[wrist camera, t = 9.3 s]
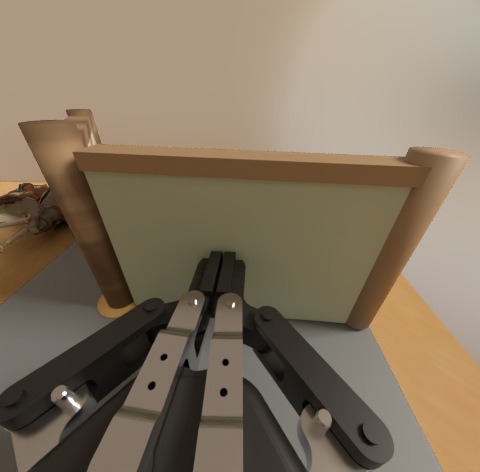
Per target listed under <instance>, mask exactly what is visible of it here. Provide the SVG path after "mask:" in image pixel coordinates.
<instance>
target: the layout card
mask: <svg viewBox="0 0 480 472" xmlns="http://www.w3.org/2000/svg"><path fill="white" fill-rule="evenodd" d="M136 306H138V305H135V302H133V303H132V304H130V305H129V306H127V307H124V308H121V309H113V308H111V307H109V305H108V304H107V302H106V300H105V298H104V296H103V294H102V292H101V290H100V288H99V286H98V284H97V282H96V280H95V278H94V276H93V274H92V272H91V270H90V267H89V265H88V263H87V261H86V259H85V257H84V255H83V253H82V251H81V249H80V247H79V245H78V243H77V241H75V242H74V243H73V244H71V245H70V246H69V247H68V248H67V249H66V250H64V251H63V252H62V253H61V254H60V255H59V256H57V257H56V258H55V259H54V260H53V261H52V262H50V263H49V264H48V265H47V266H46V267H45V268H43V269H42V270H41V271H40V272H39V273H37V274H36V275H35V276H34V277H33V278H32V279H30V280H29V281H28V282H27V283H26V284H25V285H23V286H22V287H21V288H20V289H19V290H18V291H16V292H15V293H14V294H13V295H12V296H11V297H9V298H8V299H7V300H6V301H5V302H4V303H2V304H1V305H0V394H1V393H2V392H3V391H4V390H6V389H7V388H8V387H10V386H11V385H13V384H14V383H16V382H17V381H19V380H20V379H22V378H24V377H25V376H27V375H28V374H30V373H32V372H33V371H35V370H36V369H38V368H39V367H41V366H43V365H44V364H46V363H47V362H49V361H51V360H52V359H54V358H55V357H57V356H58V355H60V354H62V353H63V352H65V351H66V350H68V349H70V348H71V347H73V346H74V345H76V344H77V343H79V342H81V341H82V340H84V339H85V338H87V337H89V336H90V335H92V334H93V333H95V332H96V331H98V330H100V329H101V328H103V327H104V326H106V325H108V324H109V323H111V322H112V321H114V320H115V319H117V318H119V317H120V316H122V315H123V314H125V313H127V312H128V311H130V310H131V309H133V308H134V307H136ZM215 318H216V313H215ZM215 318H210V320H209V324H208V332H207V335H206V339H205V342H204V346H203V349H202V353H201V356H200V360H199V367H198V371H200V370H205V369H208V361H209V353H210V346H211V338H212V334H213V333H214V326H215ZM285 319H286V320H287V321H288V322H289V323H290V324H291V325H292V326H293V327H294V328H295V329H296V330H297V331H298V332H299V334H300V335H301V336H302V337H303V338H304V339H305V340H306V341H307V342H308V343H309V344H310V345H311V346H312V347H313V348H314V349H315V350H316V351H317V353H318V354H319V355H320V356H321V357H322V358H323V359H324V360H325V361H326V362H327V363H328V364H329V365H330V366H331V367H332V368H333V369H334V371H335V372H336V373H337V374H338V375H339V376H340V377H341V378H342V379H343V380H344V381H345V382H346V383H347V384H348V385H349V386H350V387H351V388H352V390H353V391H354V392H355V393H356V394H357V395H358V396H359V397H360V398H361V399H362V400H363V401H364V402H365V403H366V404H367V405H368V406H369V408H370V409H371V410H372V411H373V412H374V413H375V414H376V415H377V416H378V417H379V418H380V419H381V420H382V421H383V423H384V424H385V425H386V427H387V428H388V430H389V432H390V434H391V436H392V439H393V443H394V454H393V457H392V458H391V460H389V461H388V462H387V463H385V464H384V465H382V466H381V467H379V468H377V469H376V470H374V471H373V472H444V471H443V469H442V467H441V466H440V464H439V462H438V460H437V458H436V456H435V454H434V452H433V450H432V448H431V446H430V444H429V442H428V440H427V438H426V436H425V434H424V433H423V431H422V429H421V427H420V425H419V423H418V421H417V419H416V417H415V415H414V413H413V411H412V409H411V407H410V405H409V403H408V401H407V399H406V398H405V396H404V394H403V392H402V390H401V388H400V386H399V384H398V382H397V380H396V378H395V376H394V374H393V372H392V370H391V368H390V366H389V365H388V363H387V361H386V359H385V357H384V355H383V353H382V351H381V349H380V347H379V345H378V343H377V341H376V339H375V337H374V335H373V333H372V332H371V330H370V328H369V327H368V328H366V329H362V330H359V329H354V328H352V327H350V326H348V325H347V324H345V323H336V322H325V321H314V320H302V319H291V318H285ZM141 368H142V367H140V368H139V369H138V370H137V371H136V372H134V373H133V374H132V375H131V376H130V377H128V378H127V379H126V380H125V381H124V382H122V383H121V384H120V385H119V386H118V387H116V388H115V389H114V390H113V391H111V392H110V393H109V394H108V395H107V396H105V397H104V398H103V399H102V400H101V401H99V402H98V403H97V405H96V408H95V411H96V410H97V409H99V408H100V407H101V406H102V405H103V404H104V403H105V402H107V401H108V400H109V399H110V398H111V397H112V396H113V395H115V394H116V393H117V392H118V391H119V390H120V389H121V388H123V387H124V386H125V385H126V384H127V383H128V382H130V381H131V380H132V379H133V378H135V377H136V376H138V374H139V372H140V370H141ZM243 377H244V378H246V379H247V380H249V381H250V382H251V383H252V384H253V385H254V386H255V387H256V388H257V389H258V390H259V392H260V393H261V395H262V396H263V398H264V400H265V401H266V403H267V405H268V406H269V408H270V410H271V411H272V413H273V415H274V416H275V418H276V420H277V421H278V423H279V425H280V426H281V428H282V430H283V431H284V433H285V435H286V436H287V438H288V440H289V441H290V443H291V445H292V446H293V448H294V450H295V451H296V453H297V455H298V456H299V458H300V460H301V461H302V463H303V465H304V466H305V468H307V462H306V456H305V453H304V450H303V448H302V446H301V444H300V442H299V439H298V436H297V423H298V420H299V418H300V417H299V415H298V414H297V413H296V411H295V410H294V408H293V407H292V405H291V404H290V403H289V401H288V400H287V398H286V397H285V395H284V394H283V393H282V391H281V390H280V388H279V387H278V385H277V384H276V383H275V381H274V380H273V378H272V377H271V376H270V374H269V373H268V371H267V370H266V368H265V367H264V366H263V364H262V363H261V361H260V360H259V358H258V357H257V356H256V354H255V353H254V351H253V349H252V348H251V347H249V346H247V345H244V344H243ZM95 411H94V412H95ZM0 472H18V468H17V463H16V457H15V452H14V447H13V441H12V436H11V433H9V432H8V431H6V430H5V429H4V428H3V427H2V426H0Z"/></svg>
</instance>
